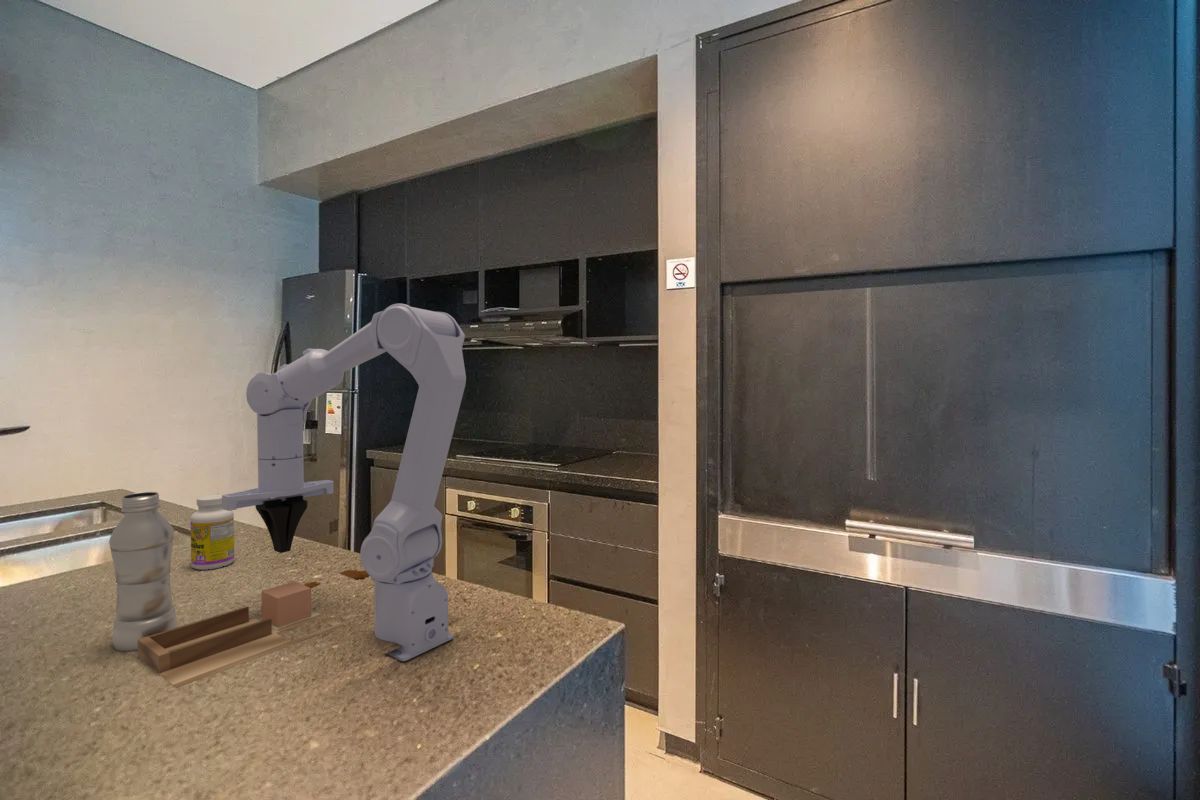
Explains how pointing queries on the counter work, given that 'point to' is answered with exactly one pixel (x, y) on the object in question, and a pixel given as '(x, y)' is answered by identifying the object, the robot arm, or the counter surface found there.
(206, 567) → the supplement bottle
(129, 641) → the plastic bottle
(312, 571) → the counter surface
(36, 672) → the counter surface
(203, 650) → the board
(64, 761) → the counter surface
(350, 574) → the primitive tool
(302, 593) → the block
